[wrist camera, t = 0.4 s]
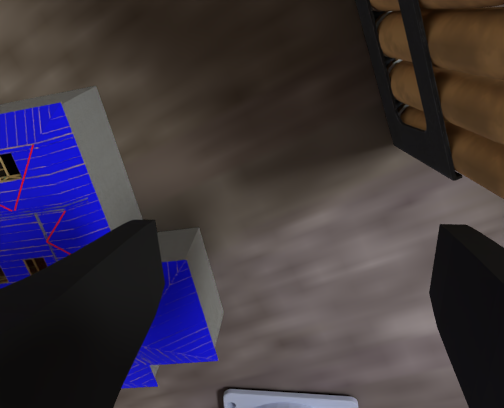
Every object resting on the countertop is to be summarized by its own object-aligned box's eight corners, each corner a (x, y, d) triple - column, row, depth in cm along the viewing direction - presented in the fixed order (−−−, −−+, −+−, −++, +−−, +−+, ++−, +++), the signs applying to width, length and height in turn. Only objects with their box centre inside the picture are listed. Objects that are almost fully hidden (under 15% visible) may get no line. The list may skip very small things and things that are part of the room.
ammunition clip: (318, -139, 15) (616, -543, 4) (370, -162, 15) (814, -637, 4) (394, 147, 19) (645, 319, 8) (435, 130, 19) (744, 283, 8)
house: (63, 345, 28) (14, 420, 24) (-54, 112, 22) (-155, 151, 17) (235, 332, 26) (219, 411, 21) (161, 69, 20) (114, 100, 15)
